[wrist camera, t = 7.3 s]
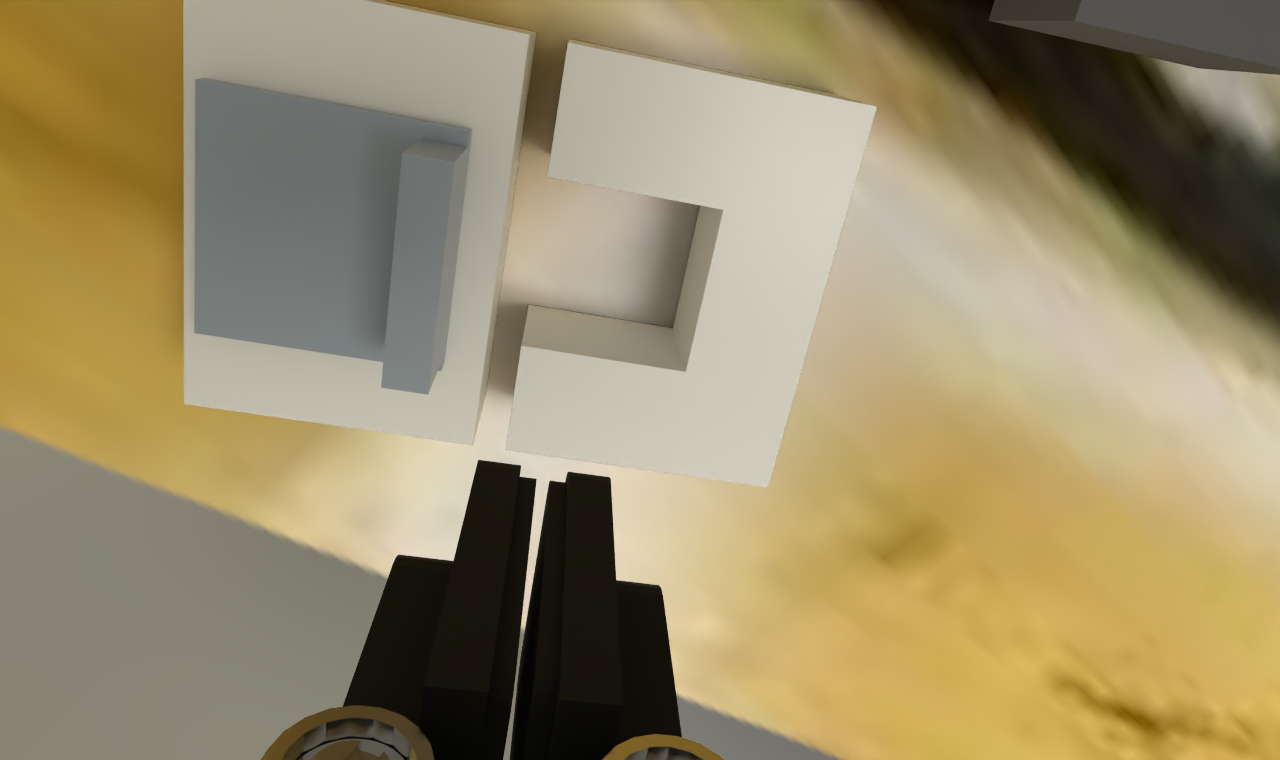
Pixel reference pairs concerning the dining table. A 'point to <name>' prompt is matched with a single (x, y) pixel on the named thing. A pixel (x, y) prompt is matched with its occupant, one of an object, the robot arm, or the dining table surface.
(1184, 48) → the plug
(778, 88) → the socket
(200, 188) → the plate
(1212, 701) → the dining table surface
